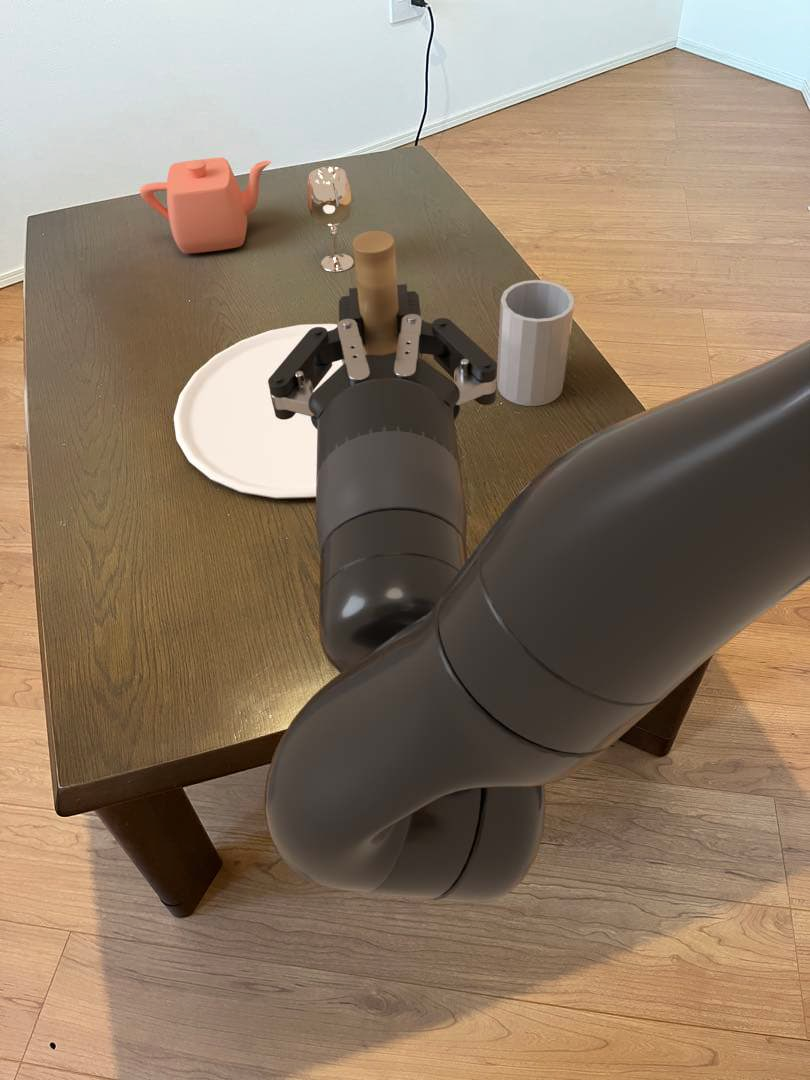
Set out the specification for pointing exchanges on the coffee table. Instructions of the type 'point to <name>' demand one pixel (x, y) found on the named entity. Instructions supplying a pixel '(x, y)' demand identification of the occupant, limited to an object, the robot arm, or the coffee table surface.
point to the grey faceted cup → (534, 341)
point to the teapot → (206, 204)
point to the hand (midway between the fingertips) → (378, 298)
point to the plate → (249, 420)
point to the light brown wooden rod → (377, 291)
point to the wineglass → (331, 209)
